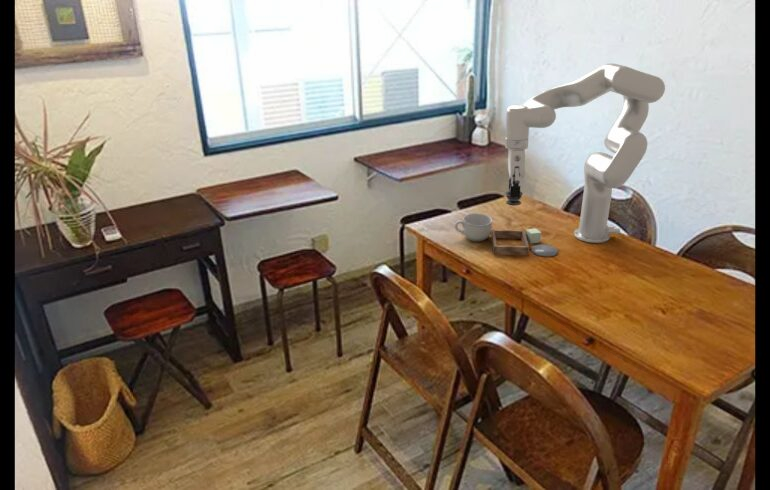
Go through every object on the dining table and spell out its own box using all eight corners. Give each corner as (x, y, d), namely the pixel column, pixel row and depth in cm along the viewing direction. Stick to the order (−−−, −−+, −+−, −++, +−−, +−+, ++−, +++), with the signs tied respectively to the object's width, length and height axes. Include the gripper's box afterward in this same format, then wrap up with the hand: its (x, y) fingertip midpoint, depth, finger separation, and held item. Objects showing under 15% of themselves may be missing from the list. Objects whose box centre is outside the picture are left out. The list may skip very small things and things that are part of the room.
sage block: (535, 238, 214) (536, 228, 212) (540, 242, 210) (541, 232, 208) (525, 239, 213) (526, 229, 211) (530, 243, 209) (531, 233, 208)
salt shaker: (523, 200, 203) (524, 167, 197) (521, 206, 198) (522, 173, 192) (506, 199, 204) (507, 167, 199) (503, 205, 199) (505, 172, 194)
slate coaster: (555, 246, 206) (555, 244, 206) (559, 257, 198) (559, 255, 198) (530, 245, 207) (530, 244, 207) (532, 256, 199) (533, 254, 199)
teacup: (490, 232, 219) (491, 213, 216) (492, 244, 209) (493, 224, 206) (453, 232, 220) (454, 212, 217) (454, 243, 211) (454, 223, 207)
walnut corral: (523, 237, 214) (524, 230, 213) (528, 255, 200) (528, 247, 199) (491, 236, 215) (491, 229, 214) (493, 254, 202) (493, 246, 201)
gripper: (531, 149, 184) (527, 202, 191) (525, 136, 199) (522, 185, 207) (507, 150, 185) (504, 202, 192) (503, 136, 200) (501, 185, 208)
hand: (514, 193), depth 199 cm, fingers closed on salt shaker, 5 cm apart
